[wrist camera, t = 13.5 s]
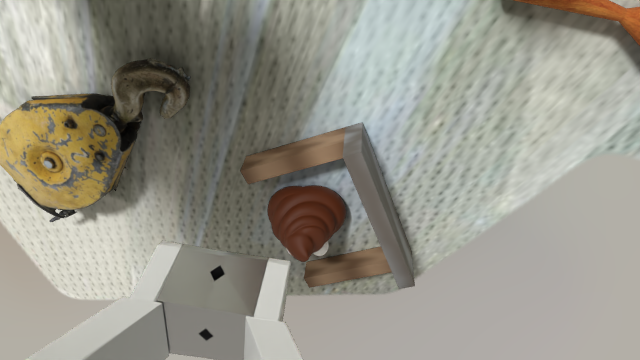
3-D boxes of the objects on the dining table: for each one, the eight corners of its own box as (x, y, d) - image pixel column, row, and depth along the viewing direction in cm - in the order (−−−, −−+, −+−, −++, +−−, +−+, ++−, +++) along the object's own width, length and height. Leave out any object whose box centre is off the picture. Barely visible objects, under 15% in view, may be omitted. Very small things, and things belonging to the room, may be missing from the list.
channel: (311, 271, 65) (306, 305, 60) (246, 156, 54) (233, 186, 49) (411, 251, 61) (414, 286, 56) (362, 122, 50) (361, 151, 45)
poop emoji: (344, 179, 55) (339, 231, 47) (348, 230, 60) (345, 285, 52) (264, 181, 56) (247, 232, 49) (275, 231, 61) (261, 284, 54)
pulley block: (212, 143, 46) (39, 241, 57) (232, 121, 51) (69, 216, 62) (119, 17, 41) (-48, 152, 53) (151, 7, 46) (-8, 133, 58)
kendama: (538, -63, 34) (781, 18, 35) (516, -58, 40) (727, 12, 40) (502, 16, 37) (729, 90, 37) (486, 10, 42) (685, 75, 43)
